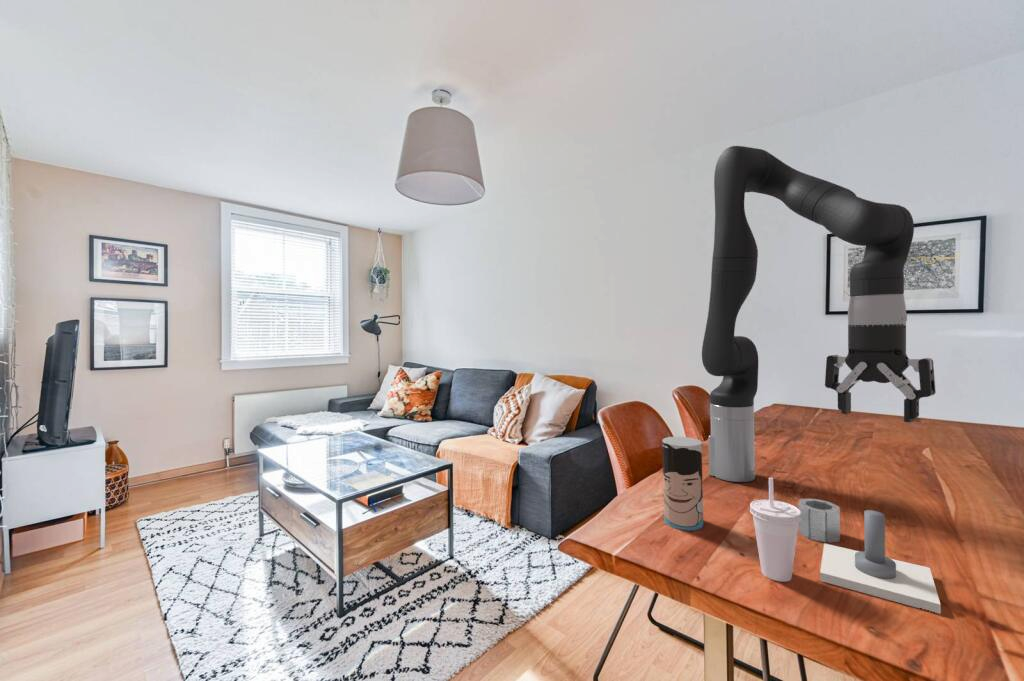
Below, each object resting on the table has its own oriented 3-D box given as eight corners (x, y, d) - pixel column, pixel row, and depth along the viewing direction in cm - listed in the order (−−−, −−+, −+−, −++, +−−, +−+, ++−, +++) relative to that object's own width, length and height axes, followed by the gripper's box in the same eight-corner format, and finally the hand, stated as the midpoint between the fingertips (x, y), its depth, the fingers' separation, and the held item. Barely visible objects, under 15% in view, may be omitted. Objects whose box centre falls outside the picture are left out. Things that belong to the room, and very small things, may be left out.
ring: (797, 536, 73) (797, 507, 73) (801, 524, 77) (800, 496, 77) (839, 545, 69) (838, 515, 69) (840, 532, 74) (839, 503, 74)
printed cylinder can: (656, 518, 81) (654, 439, 81) (683, 511, 84) (681, 435, 84) (683, 533, 75) (681, 448, 75) (711, 525, 78) (710, 442, 77)
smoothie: (741, 563, 65) (739, 471, 65) (781, 560, 66) (780, 469, 65) (770, 589, 59) (768, 487, 58) (814, 585, 59) (813, 484, 59)
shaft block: (820, 580, 60) (819, 515, 60) (824, 550, 68) (823, 493, 68) (940, 614, 53) (940, 539, 52) (929, 576, 60) (929, 511, 60)
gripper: (818, 323, 77) (818, 414, 77) (926, 321, 65) (925, 428, 66) (836, 323, 81) (836, 408, 82) (940, 321, 69) (940, 421, 70)
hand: (876, 417), depth 74 cm, fingers open, 8 cm apart
